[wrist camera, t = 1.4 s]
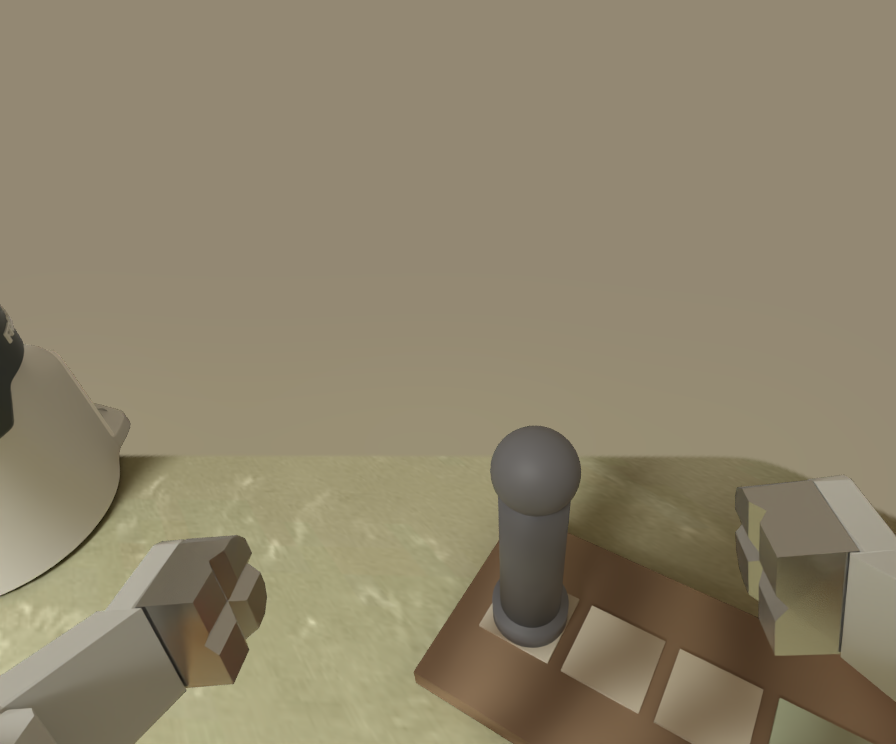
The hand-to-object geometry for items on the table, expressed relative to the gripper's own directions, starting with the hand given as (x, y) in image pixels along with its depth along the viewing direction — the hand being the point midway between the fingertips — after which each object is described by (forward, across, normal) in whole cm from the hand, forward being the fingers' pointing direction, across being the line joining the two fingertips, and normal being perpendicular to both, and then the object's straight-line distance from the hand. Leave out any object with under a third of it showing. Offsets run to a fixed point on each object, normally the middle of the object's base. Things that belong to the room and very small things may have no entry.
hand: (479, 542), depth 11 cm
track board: (+12, -6, +22) cm, 26 cm away
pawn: (+16, +2, +19) cm, 25 cm away
